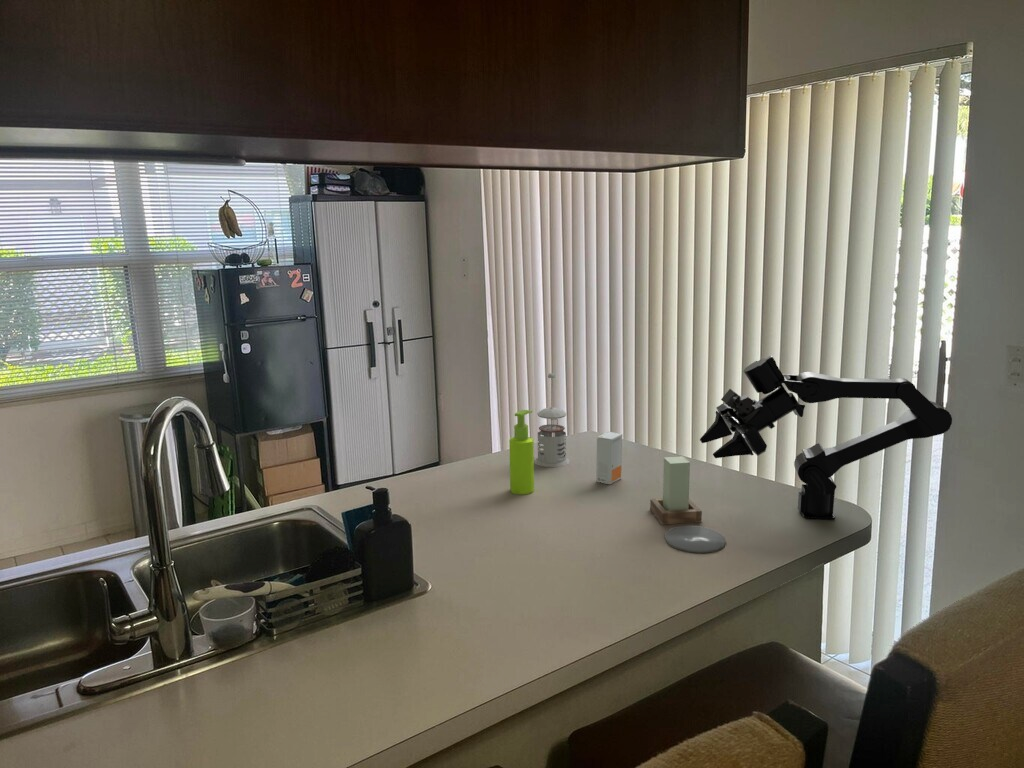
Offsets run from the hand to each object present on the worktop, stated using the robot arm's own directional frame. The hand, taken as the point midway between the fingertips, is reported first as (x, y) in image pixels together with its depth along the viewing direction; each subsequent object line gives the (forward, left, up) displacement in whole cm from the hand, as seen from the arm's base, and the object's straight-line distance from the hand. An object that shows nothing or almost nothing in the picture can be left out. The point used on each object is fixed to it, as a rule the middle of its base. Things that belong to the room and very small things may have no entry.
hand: (707, 448), depth 160 cm
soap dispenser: (+43, -11, -15) cm, 47 cm away
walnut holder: (+7, +2, -15) cm, 17 cm away
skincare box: (+22, -20, -15) cm, 33 cm away
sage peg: (+7, +2, -15) cm, 17 cm away
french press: (+38, -35, -15) cm, 53 cm away
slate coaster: (+4, +15, -15) cm, 22 cm away
